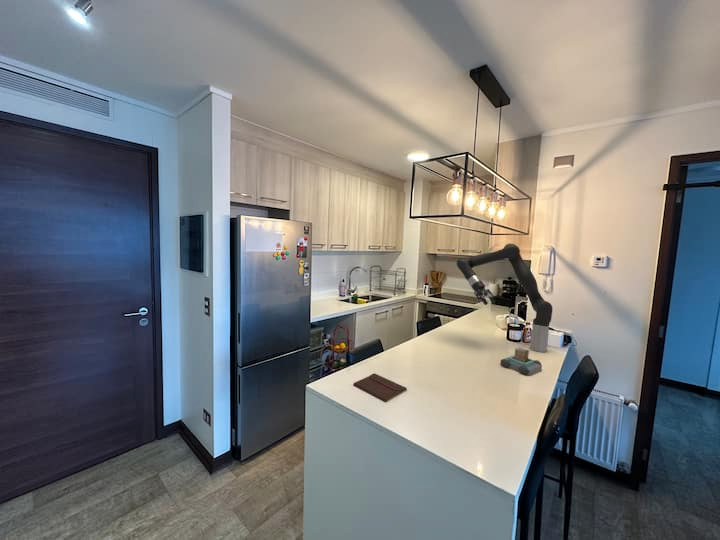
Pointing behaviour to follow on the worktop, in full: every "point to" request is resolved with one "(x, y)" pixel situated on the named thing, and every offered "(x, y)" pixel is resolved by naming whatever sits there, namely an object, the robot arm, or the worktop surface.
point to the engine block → (521, 354)
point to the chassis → (522, 365)
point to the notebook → (380, 387)
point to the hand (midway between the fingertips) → (490, 303)
